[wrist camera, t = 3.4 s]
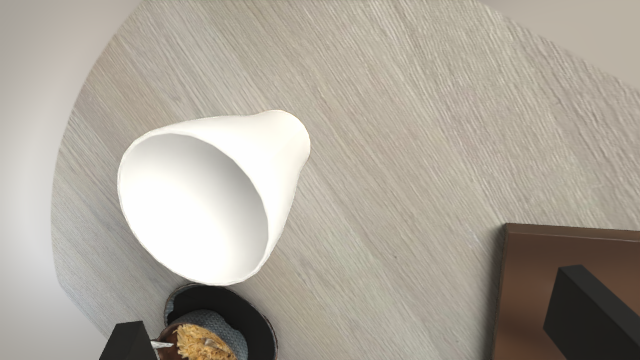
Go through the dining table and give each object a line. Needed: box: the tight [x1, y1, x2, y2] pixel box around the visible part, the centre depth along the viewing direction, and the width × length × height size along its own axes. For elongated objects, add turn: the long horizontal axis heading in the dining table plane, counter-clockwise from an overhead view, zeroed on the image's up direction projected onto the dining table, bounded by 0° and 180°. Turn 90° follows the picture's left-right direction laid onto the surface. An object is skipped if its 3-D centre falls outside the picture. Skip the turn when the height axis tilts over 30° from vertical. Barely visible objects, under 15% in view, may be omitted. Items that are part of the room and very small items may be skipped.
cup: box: [117, 110, 310, 286], centre depth 28 cm, size 10×10×14 cm
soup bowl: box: [150, 283, 278, 360], centre depth 44 cm, size 15×16×7 cm
